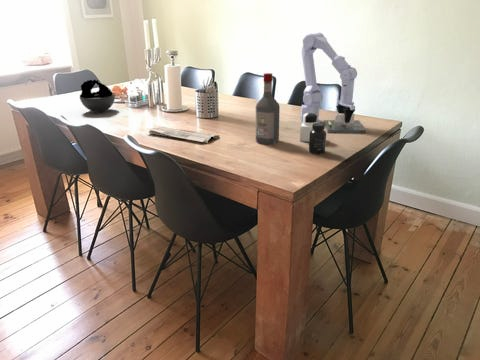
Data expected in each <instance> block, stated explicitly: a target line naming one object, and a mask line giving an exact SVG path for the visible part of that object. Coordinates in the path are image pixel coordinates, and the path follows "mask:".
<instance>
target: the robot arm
mask: <svg viewBox="0 0 480 360" xmlns="http://www.w3.org/2000/svg"><path fill="white" fill-rule="evenodd" d="M317 49H319V50H322V51H323V53H324V54H325V55H326V56H327V57H328V58H329V59H330V60H331V65H332V66H333V68H334V69H335V70H336V71H337V72H338V74H339V78H340V80H341V87H340V88H341V89H340V90H341V91H340V98H339V99H337V105H336V109H337V111H338V112H337V113H344V115H345V123H349V122H350V119H351V117H352V114H355V111H356V105H355V102H354V101H353V98H354V89H355V79H357V76H358V71H357V69H356V68H355V67H352V66H351V64H349V63H348V62H347V61H346V60H345V59H346V57H345V56H342V55H338V54H337V53H336V51H335V49H334V48H333V46H331V44H330V43H329V41H328V39H327V37H326V36H325V35H324V34H323V33H322V32H316V33H307V34H306V35H304V37H303V39H302V48H301V58H302V66H303V73H304V80H305V86H306V87H305V88H304V90H303V97H302V102H303V103H304V104H301V108H300V109H301V110H300V123H301V124H303V115H304V114H306V113H314V114H316V115H317V122H316V123H321V122H320V118H319V116H320V104H321V102H323V101H322V100H323V98H324V96H323V93H322V92H321V87H320V86H318V84H317V76H316V69H315V60H314V54H315V52H316V51H317Z"/></svg>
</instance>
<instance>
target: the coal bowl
mask: <svg viewBox="0 0 480 360" xmlns="http://www.w3.org/2000/svg"><path fill="white" fill-rule="evenodd" d="M95 85H97V86H98V90H97V91H93V92H92V90H93V88H94V87H95ZM80 89H81V93H80V94H79V99H80V100H79V101H80V102H81V104H82V105H83V106H84V108H85V109H87V110H88V111H91V112H93V111H94V112H93V113H102V112H101V111H103V112H106V111H108V110H110V109H111V107H112V106H113V104H114V103H115V98H116V94H115V92H113V91H112V90H111V89H110V88H109V87H108V86H106V85H105V84H104V83H102V82H100V80H97V79H93V80H92V79H90V80H86V81H83V83H82V84H81V85H80Z"/></svg>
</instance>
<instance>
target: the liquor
mask: <svg viewBox="0 0 480 360" xmlns="http://www.w3.org/2000/svg"><path fill="white" fill-rule="evenodd" d="M262 95H263V96H262V97H261V99H259V101H257V103H256V105H255V142H257V143H258V144H261V145H262V144H263V145H273V144H275V143H277V142H278V141H279V139H280V103H279V102H278V101H277V100H276V99H275V98H274V97H273V73H269V72H267V73H266V72H265V73H263V94H262Z"/></svg>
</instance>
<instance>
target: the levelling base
mask: <svg viewBox="0 0 480 360" xmlns="http://www.w3.org/2000/svg"><path fill="white" fill-rule="evenodd" d="M323 124H324V128H325V129H326V130H325V131H326V133H327V134H367V129H366V128H365V126H364V125H363V124H362V123H361V122H360V120H359V119H358V120H355V119H354V123H347V125H342V123H336V122H335V119H331V120H329V119H328V120H326V119H325V120H324V119H323Z"/></svg>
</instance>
